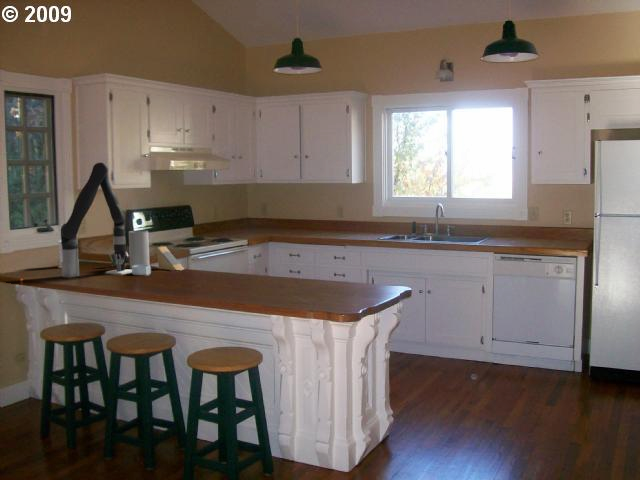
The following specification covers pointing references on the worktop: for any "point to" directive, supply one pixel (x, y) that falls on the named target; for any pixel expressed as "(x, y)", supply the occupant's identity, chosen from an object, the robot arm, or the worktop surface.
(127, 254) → the food container
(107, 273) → the mat
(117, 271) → the lid
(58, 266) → the decorative container
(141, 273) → the pale blue block
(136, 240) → the cylinder vase
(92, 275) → the worktop surface
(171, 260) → the sandwich container
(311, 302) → the worktop surface
